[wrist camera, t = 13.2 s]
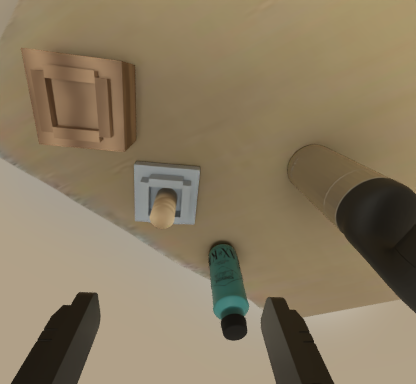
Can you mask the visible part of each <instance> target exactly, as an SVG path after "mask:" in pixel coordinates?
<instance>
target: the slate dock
mask: <svg viewBox="0 0 416 384" xmlns="http://www.w3.org/2000/svg"><path fill="white" fill-rule="evenodd" d="M199 176H200V167H198V166H186V165H175V164H163V163H152V162H141V161H136V162H135V164H134V187H135V221H144V222H150V214H151V210H152V207H153V204H154V201H155V198H156V195H157V192H158V191H159V190H160V189H161V188H172V189H173V190H174V191H175V192H176V193H177V204H176V211H175V219H174V223H173V224H194V223H195V214H196V204H197V195H198V186H199Z"/></svg>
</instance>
